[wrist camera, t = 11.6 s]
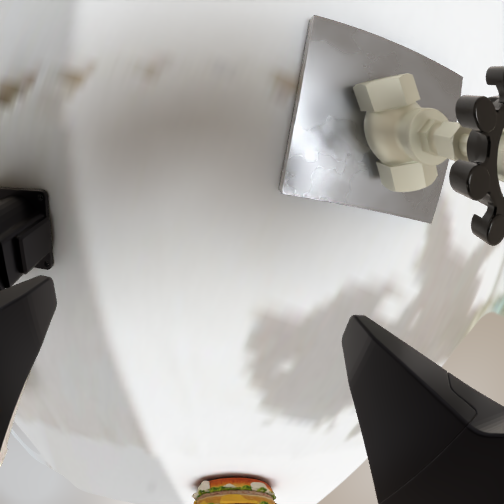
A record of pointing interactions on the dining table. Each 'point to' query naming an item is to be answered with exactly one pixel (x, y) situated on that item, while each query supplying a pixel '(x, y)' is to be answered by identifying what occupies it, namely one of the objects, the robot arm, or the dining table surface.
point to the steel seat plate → (356, 120)
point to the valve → (439, 143)
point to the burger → (234, 492)
